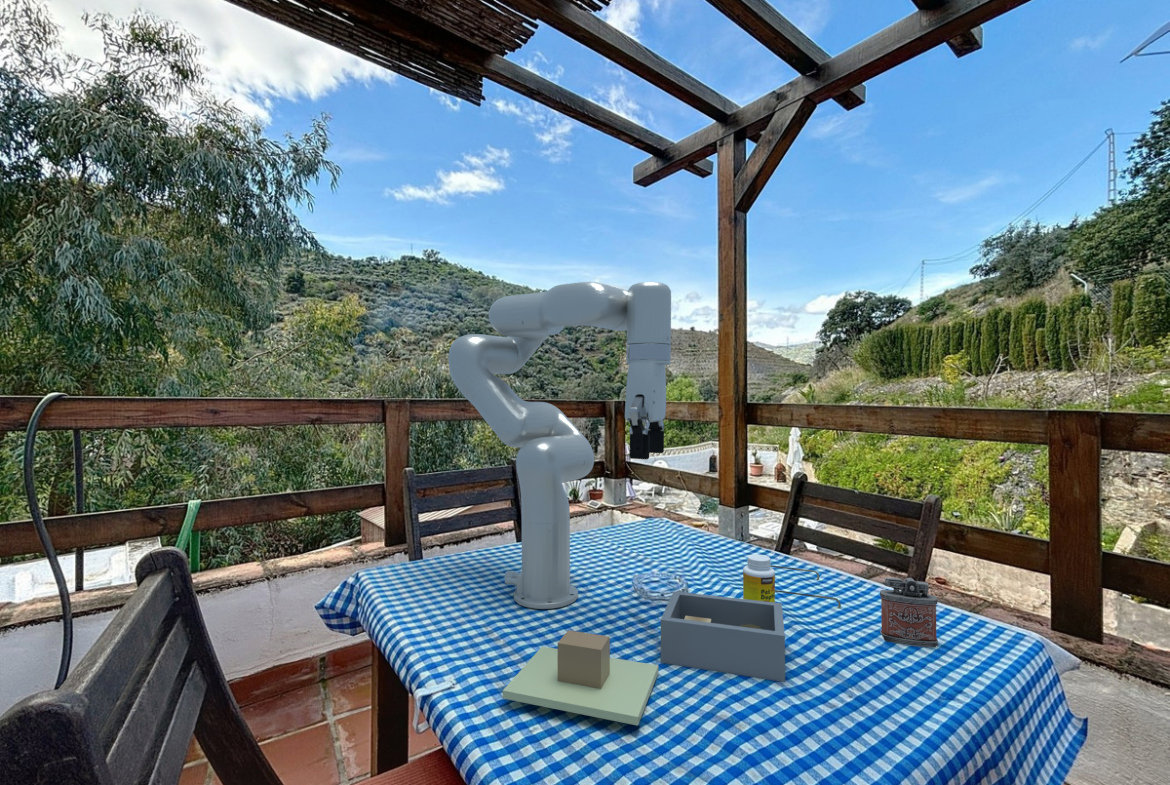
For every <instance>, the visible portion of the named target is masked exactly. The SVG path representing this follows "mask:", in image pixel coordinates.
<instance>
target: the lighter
mask: <svg viewBox="0 0 1170 785" xmlns="http://www.w3.org/2000/svg"><path fill="white" fill-rule="evenodd" d="M884 586H885V587H888V588H893V589H881V590H880V591H879V596H880V598H881V600H880V601H881V602H880V603H881V607H880V608H881V612H880V613H881V614H880V615H881V629H880V632H879V633H880V634H881V636H882V638H883V640H884V641H885V642H888V643H893V644H898V645H904V646H910V647H911V646H913V647H921V648H937V647H938V646H939V643H938V642H939V640H938V638H937V604H938V597H937V596H935V595H933V594H930V593H929V582H926V581H918V580H917V581H916V580H914V579H913V578H912V577H906V578H905V579H902V578H898V577H888V576H887V577H885V578H884ZM900 589H901V590H900ZM936 646H937V647H936Z"/></svg>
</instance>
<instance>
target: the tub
mask: <svg viewBox="0 0 1170 785" xmlns="http://www.w3.org/2000/svg"><path fill="white" fill-rule="evenodd" d="M685 616H692V617H700V618H708V619H711V623H708V622H701V621H693V620H685V619H684V618H685ZM744 624H751V625H756V626H759V627H761V628H762V629H755V628H747V627H739V626H741V625H744ZM784 624H785V623H784V614H783V603H781V602H775V603H773V602H764V601H756V600H747V599H743V598H737V597H736V598H735V597H728V596H719V595H712V594H711V595H709V594H702V593H701V594H700V593H691V592H684V591H683V592H682V591H673V592H672V594H671V596H670V599H669V601H668V603H667V604H666V607H665V609H664V611H663V614H662V616H661V618H660V663H661V664H667V665H674V666H679V667H686V668H692V669H699V670H705V671H711V672H712V671H713V672H716V673H724V674H731V675H736V676H737V675H739V676H742V677H743V676H744V677H748V678H750V677H751V678H756V679H761V680H762V679H764V680H770V681H775V682H782V683H786V638H785V637H786V634H785V625H784Z"/></svg>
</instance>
